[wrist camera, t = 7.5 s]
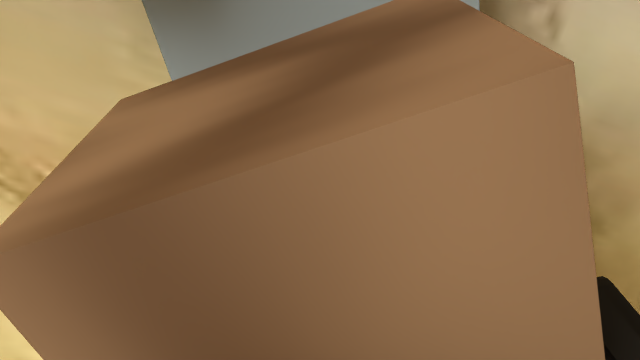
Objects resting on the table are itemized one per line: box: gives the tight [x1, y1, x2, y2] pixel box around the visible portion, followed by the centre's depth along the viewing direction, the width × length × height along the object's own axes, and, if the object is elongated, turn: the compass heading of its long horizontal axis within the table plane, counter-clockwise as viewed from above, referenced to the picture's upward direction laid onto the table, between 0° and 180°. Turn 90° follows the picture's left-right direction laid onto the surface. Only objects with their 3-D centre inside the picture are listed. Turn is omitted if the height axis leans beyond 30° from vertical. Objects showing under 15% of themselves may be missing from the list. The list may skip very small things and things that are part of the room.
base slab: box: [142, 0, 480, 81], centre depth 16 cm, size 8×14×3 cm, turn 13°
